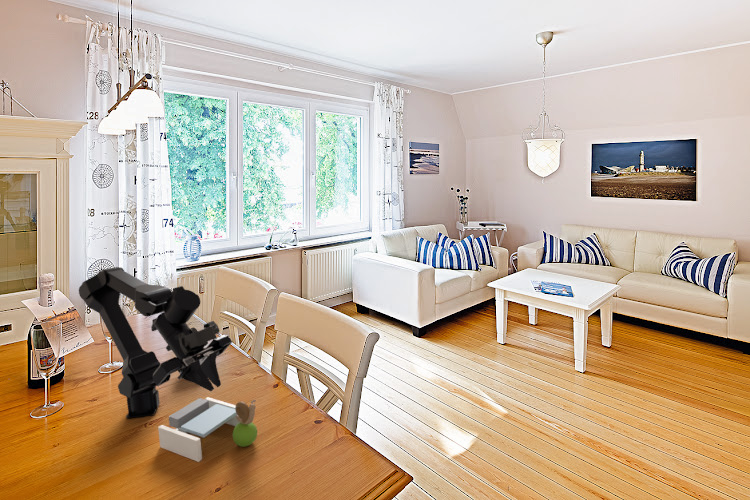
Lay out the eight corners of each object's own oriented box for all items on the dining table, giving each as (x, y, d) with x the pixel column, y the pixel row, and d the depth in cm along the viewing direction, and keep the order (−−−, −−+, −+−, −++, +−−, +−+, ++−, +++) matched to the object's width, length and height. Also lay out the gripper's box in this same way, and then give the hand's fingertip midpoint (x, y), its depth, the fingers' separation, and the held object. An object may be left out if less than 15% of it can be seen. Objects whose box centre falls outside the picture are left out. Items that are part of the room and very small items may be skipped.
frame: (198, 461, 93) (196, 441, 92) (160, 447, 98) (158, 427, 97) (245, 426, 106) (244, 407, 105) (209, 415, 111) (208, 397, 110)
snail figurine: (247, 456, 95) (244, 406, 93) (228, 446, 98) (224, 398, 96) (266, 443, 99) (263, 395, 97) (246, 434, 103) (243, 387, 101)
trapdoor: (204, 441, 94) (203, 431, 94) (166, 427, 99) (165, 418, 99) (238, 416, 103) (238, 407, 103) (202, 405, 109) (202, 396, 108)
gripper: (156, 327, 88) (199, 388, 86) (224, 302, 105) (262, 353, 102) (134, 356, 93) (175, 415, 91) (202, 328, 110) (238, 377, 107)
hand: (216, 388), depth 97 cm, fingers closed
